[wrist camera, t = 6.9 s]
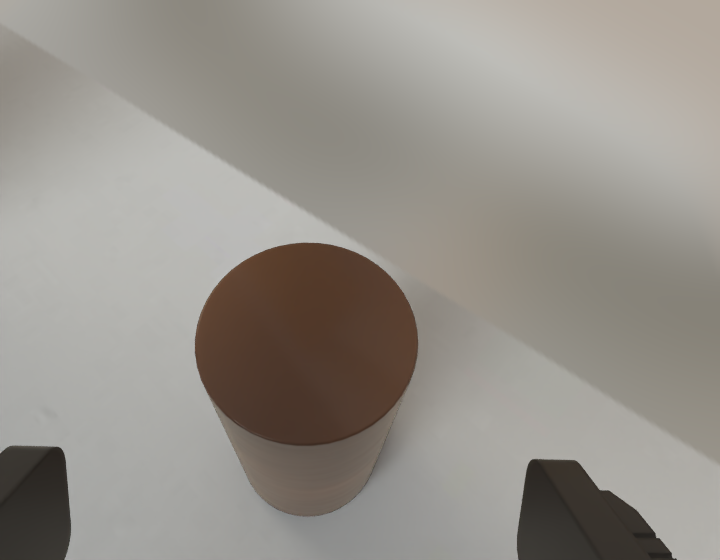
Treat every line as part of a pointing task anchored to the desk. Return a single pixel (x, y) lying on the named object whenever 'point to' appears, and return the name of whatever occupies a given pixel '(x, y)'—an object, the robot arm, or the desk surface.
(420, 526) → the desk surface
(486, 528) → the desk surface
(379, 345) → the post
